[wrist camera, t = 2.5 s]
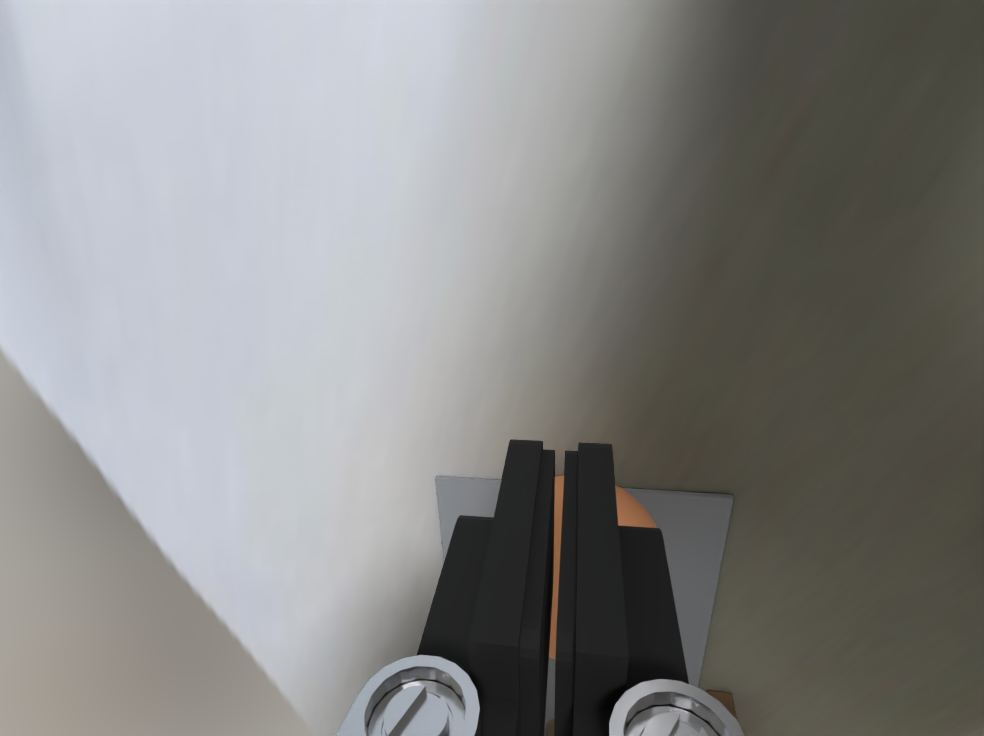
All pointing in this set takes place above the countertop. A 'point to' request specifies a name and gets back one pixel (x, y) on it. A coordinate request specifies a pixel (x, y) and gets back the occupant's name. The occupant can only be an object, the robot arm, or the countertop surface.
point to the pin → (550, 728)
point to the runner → (687, 538)
